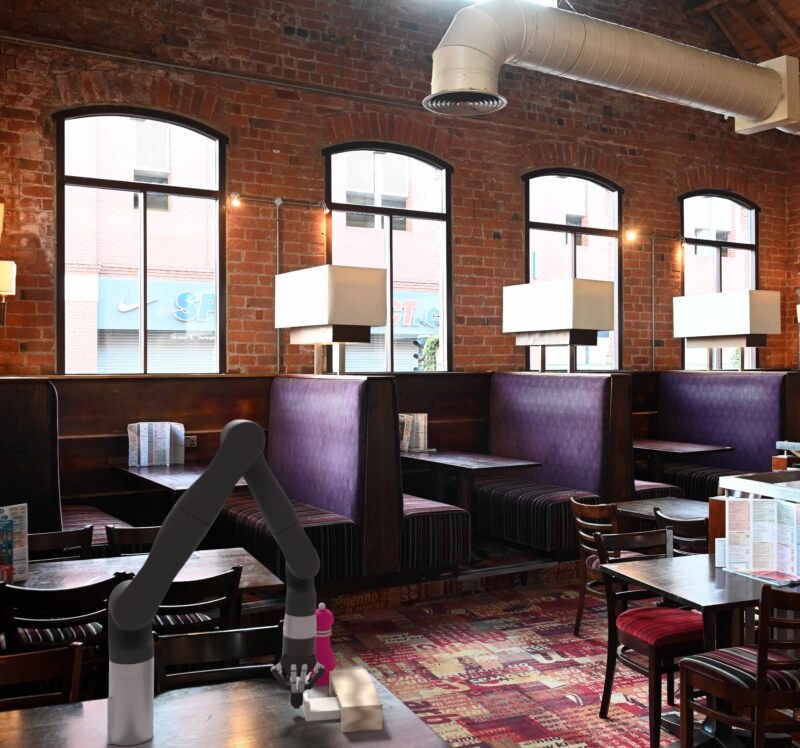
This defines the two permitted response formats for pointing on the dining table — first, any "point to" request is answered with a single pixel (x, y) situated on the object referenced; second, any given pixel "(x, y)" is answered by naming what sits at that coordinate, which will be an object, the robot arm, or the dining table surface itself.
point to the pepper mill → (324, 643)
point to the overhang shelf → (356, 700)
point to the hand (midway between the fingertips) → (296, 707)
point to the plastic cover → (321, 708)
